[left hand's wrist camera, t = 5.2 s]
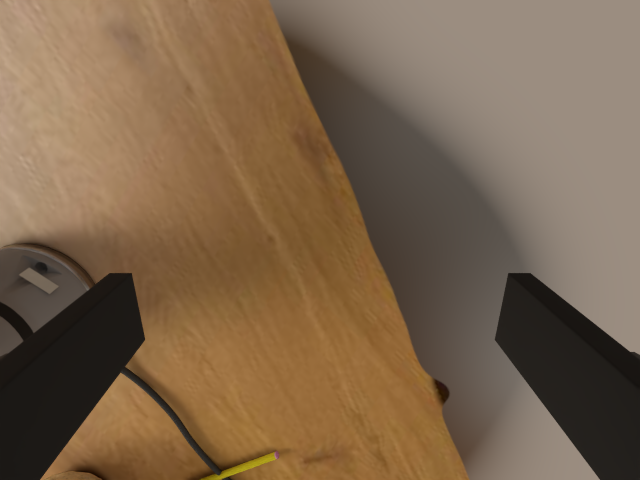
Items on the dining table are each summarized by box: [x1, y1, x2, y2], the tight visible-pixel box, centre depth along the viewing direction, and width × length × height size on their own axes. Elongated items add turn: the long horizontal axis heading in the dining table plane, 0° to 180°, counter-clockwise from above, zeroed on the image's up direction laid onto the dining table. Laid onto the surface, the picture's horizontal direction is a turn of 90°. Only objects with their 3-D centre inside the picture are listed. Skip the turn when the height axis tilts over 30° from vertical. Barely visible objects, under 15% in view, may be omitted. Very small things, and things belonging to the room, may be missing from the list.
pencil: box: [199, 451, 279, 480], centre depth 55 cm, size 16×1×1 cm, turn 116°
